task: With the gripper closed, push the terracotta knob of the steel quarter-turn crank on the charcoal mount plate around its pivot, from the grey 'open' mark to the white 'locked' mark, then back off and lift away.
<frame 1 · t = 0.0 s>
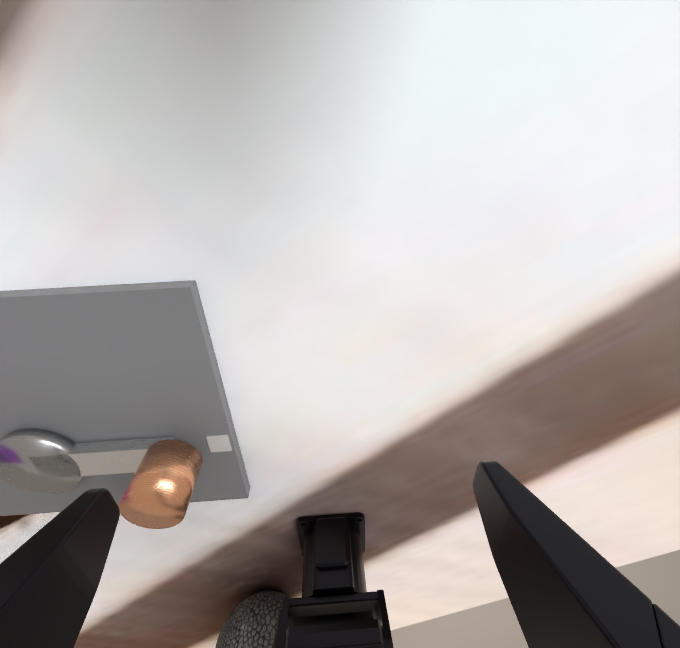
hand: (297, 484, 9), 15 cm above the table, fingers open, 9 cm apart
decorative ball: (269, 592, 41), on the table
crank: (87, 482, 24), point 4 cm above the table, hinge at 0.0°
mount plate: (85, 413, 26), on the table
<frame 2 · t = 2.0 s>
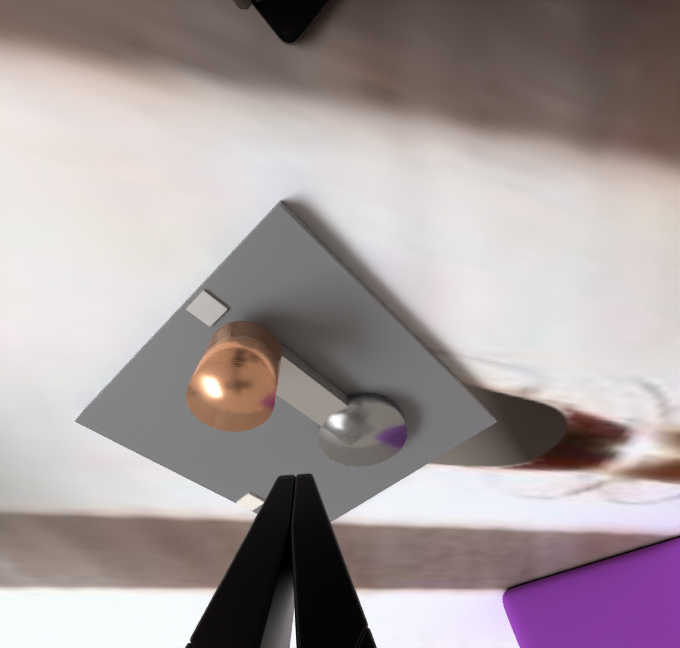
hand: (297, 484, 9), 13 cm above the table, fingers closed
crank: (315, 420, 20), point 4 cm above the table, hinge at 0.0°
mount plate: (296, 411, 25), on the table
shopping bag: (616, 583, 42), on the table
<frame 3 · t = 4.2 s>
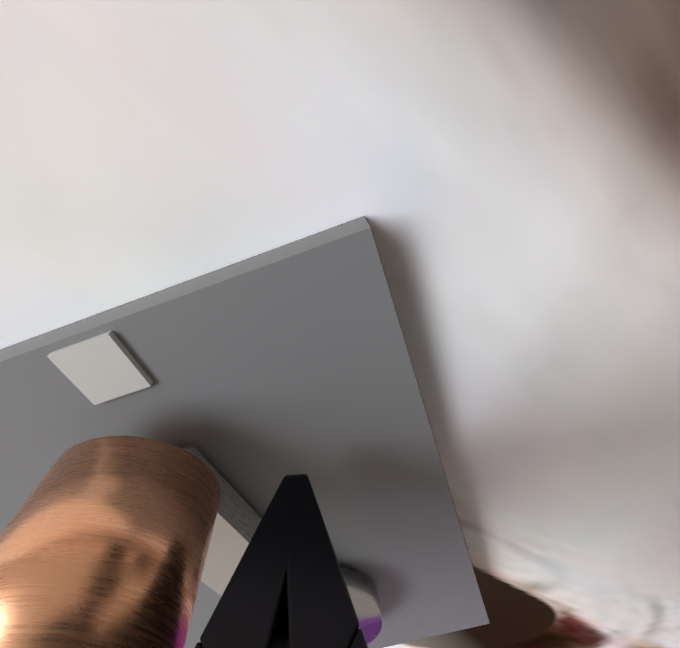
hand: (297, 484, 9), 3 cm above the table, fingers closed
crank: (240, 642, 10), point 4 cm above the table, hinge at 3.1°, touching gripper
mount plate: (206, 548, 14), on the table
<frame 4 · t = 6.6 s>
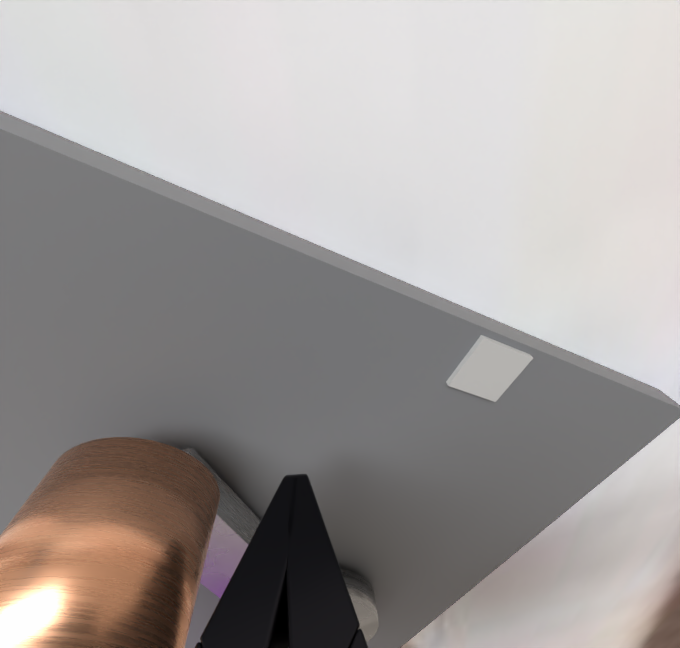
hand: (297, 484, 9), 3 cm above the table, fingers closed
crank: (238, 643, 10), point 4 cm above the table, hinge at 46.5°, touching gripper
mount plate: (265, 514, 13), on the table
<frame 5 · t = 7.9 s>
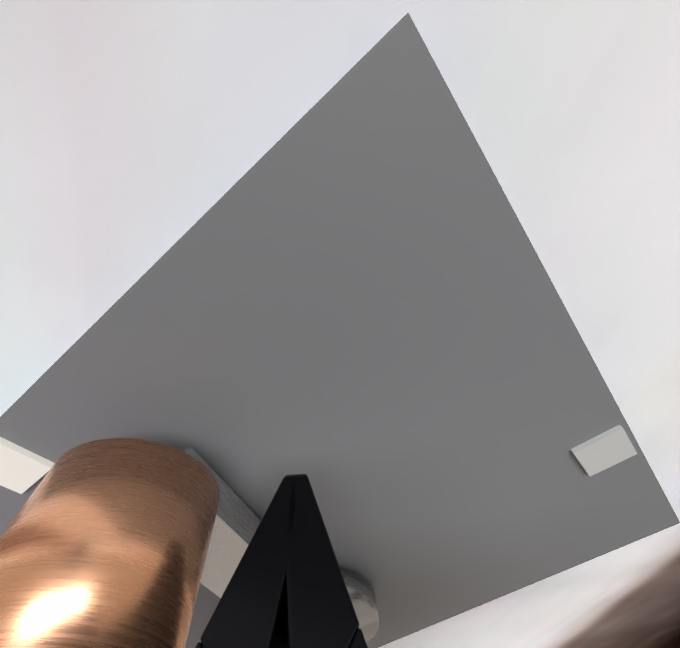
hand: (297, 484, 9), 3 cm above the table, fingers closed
crank: (239, 643, 10), point 4 cm above the table, hinge at 72.5°, touching gripper
mount plate: (319, 509, 13), on the table
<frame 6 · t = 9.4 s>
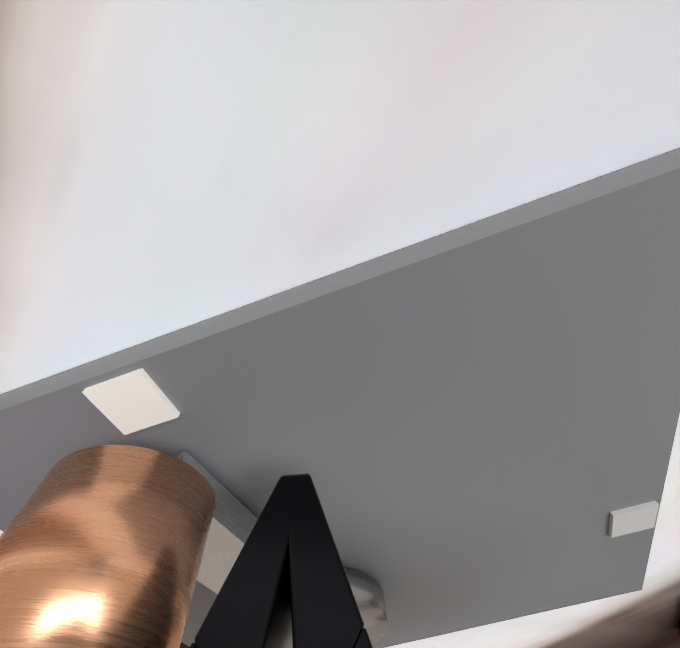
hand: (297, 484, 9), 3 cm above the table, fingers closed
crank: (243, 645, 10), point 4 cm above the table, hinge at 94.9°, touching gripper
mount plate: (366, 514, 14), on the table
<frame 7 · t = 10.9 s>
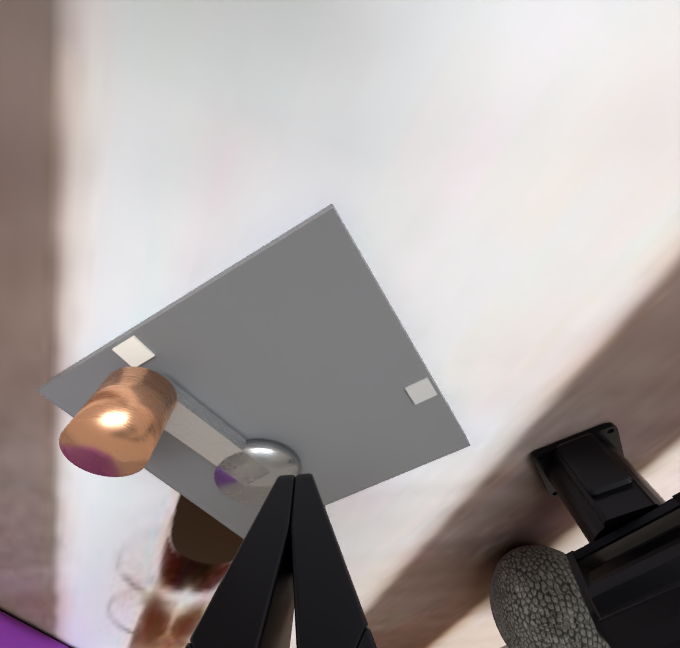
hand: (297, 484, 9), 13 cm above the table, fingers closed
decorative ball: (520, 549, 36), on the table
crank: (204, 464, 21), point 4 cm above the table, hinge at 94.9°
mount plate: (276, 410, 24), on the table
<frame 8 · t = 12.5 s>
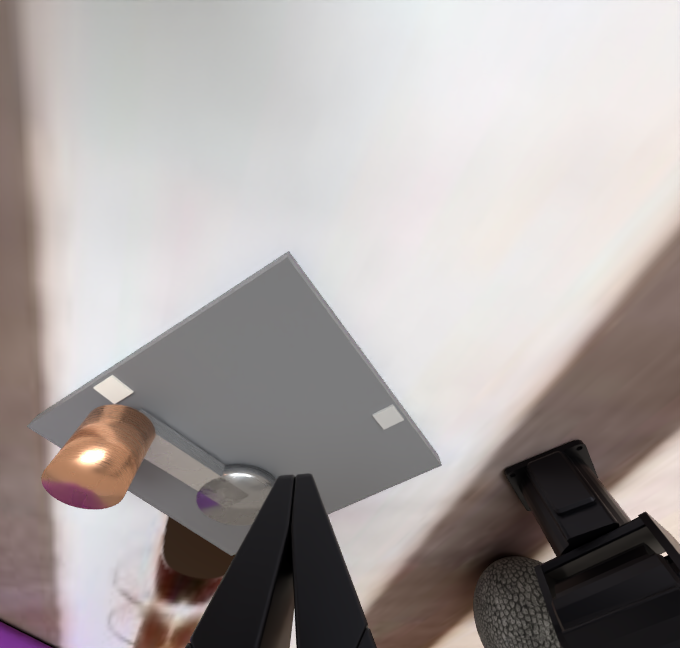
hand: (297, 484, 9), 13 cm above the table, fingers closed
decorative ball: (504, 560, 37), on the table
crank: (183, 492, 23), point 4 cm above the table, hinge at 94.9°
mount plate: (254, 436, 26), on the table
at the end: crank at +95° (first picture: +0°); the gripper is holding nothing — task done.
